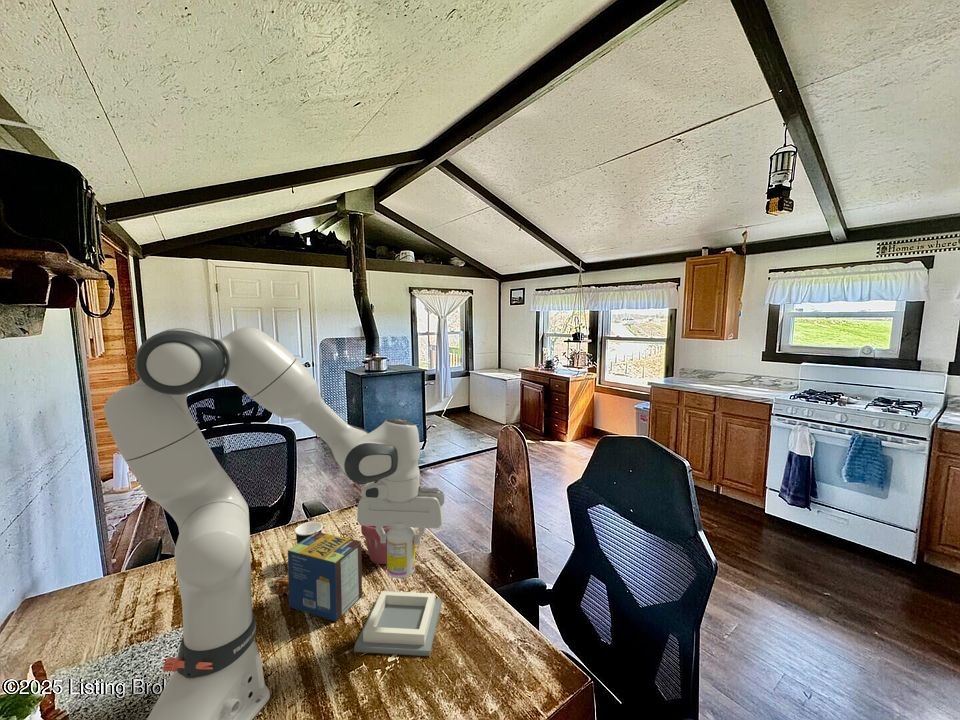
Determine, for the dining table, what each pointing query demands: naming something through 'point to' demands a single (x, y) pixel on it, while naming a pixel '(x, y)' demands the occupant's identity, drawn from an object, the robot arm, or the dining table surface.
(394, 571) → the supplement bottle
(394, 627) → the picture frame
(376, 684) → the dining table surface
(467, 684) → the dining table surface
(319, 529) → the dixie cup
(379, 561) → the plant pot
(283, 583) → the pastry
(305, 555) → the protein box
